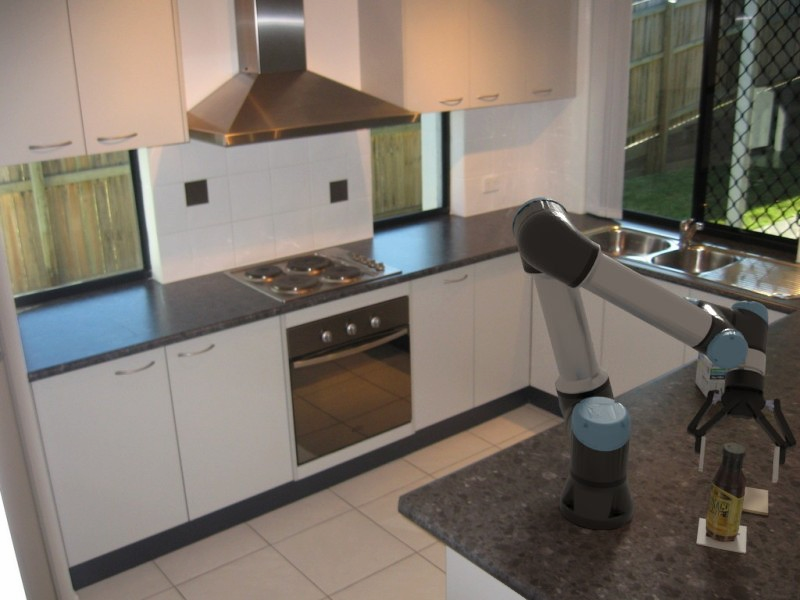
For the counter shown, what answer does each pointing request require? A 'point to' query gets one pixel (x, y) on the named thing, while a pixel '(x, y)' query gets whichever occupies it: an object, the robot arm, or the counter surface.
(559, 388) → the robot arm
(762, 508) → the coaster
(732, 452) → the sauce bottle
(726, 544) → the tile
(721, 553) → the counter surface
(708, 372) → the light bulb box
